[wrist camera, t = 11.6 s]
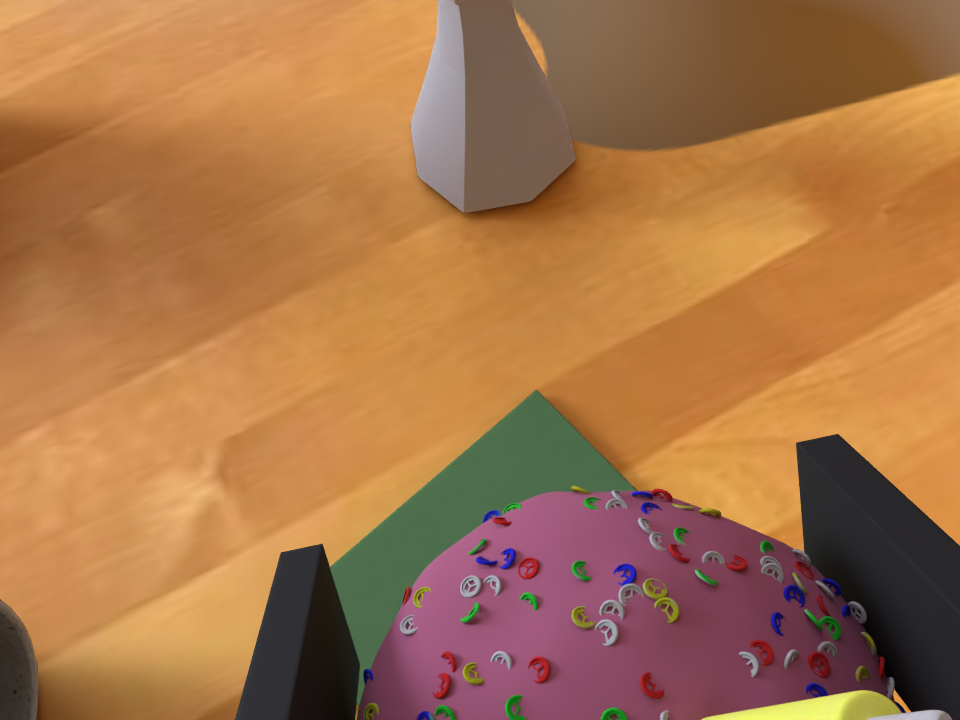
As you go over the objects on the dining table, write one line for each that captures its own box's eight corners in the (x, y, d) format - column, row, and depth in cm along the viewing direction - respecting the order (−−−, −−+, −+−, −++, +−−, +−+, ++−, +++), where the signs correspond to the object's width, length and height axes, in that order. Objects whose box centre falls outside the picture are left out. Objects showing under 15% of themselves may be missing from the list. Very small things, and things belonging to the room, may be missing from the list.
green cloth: (287, 607, 30) (284, 605, 30) (536, 393, 33) (536, 389, 32) (710, 1177, 23) (712, 1184, 23) (989, 847, 25) (995, 848, 25)
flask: (455, 241, 36) (418, 72, 27) (385, 123, 39) (330, -67, 29) (605, 169, 36) (619, -20, 27) (525, 59, 39) (514, -146, 30)
